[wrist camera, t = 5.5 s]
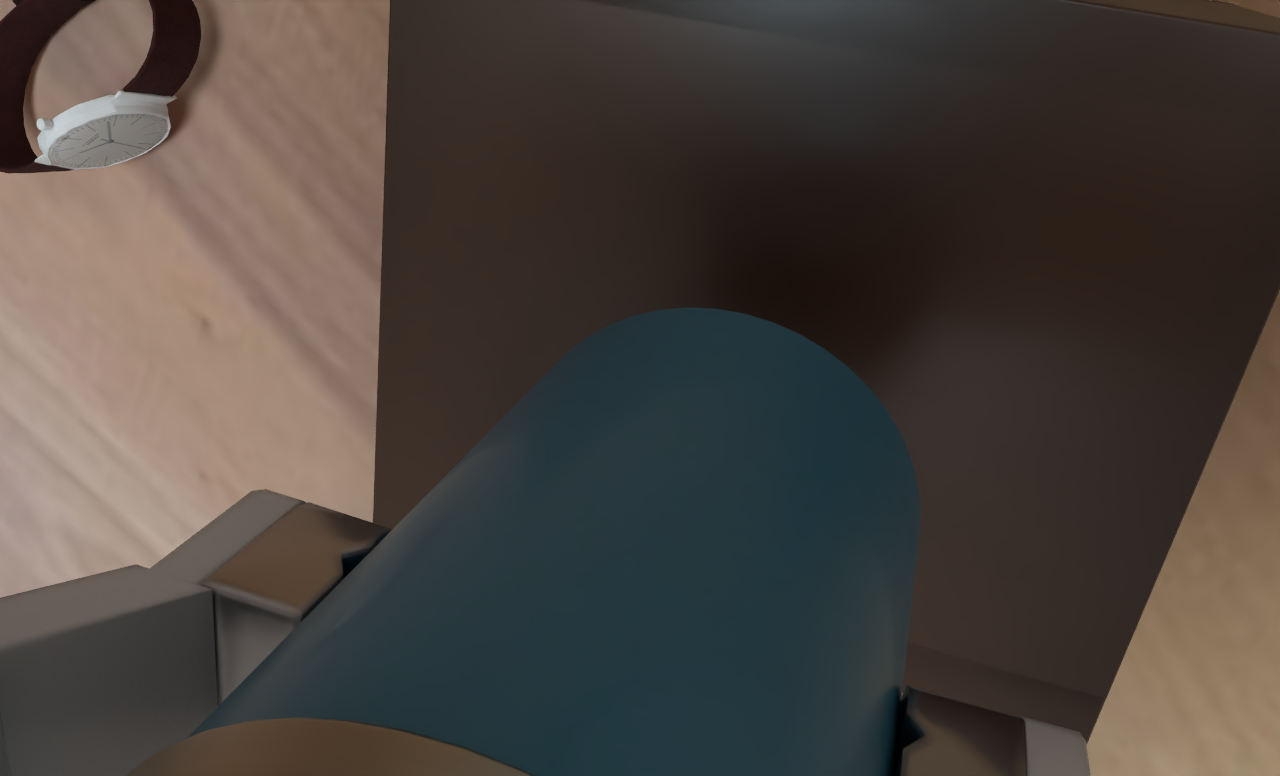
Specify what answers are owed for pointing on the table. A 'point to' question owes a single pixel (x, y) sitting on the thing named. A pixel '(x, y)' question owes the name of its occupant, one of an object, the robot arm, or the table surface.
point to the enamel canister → (618, 584)
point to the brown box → (865, 261)
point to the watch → (99, 124)
